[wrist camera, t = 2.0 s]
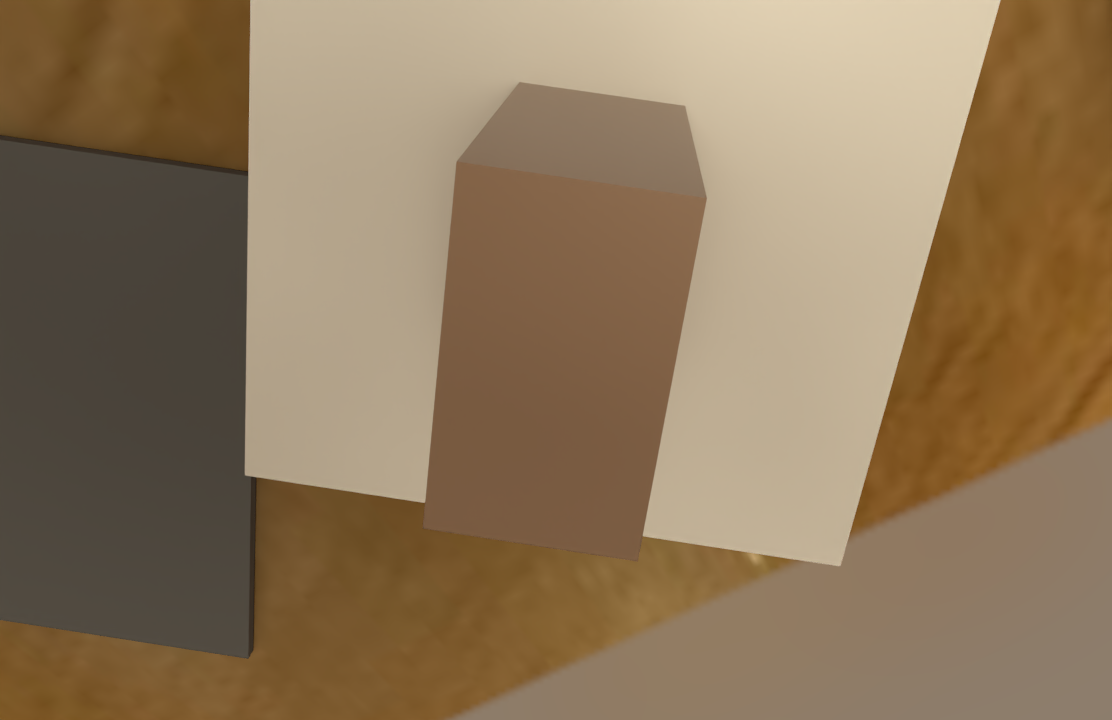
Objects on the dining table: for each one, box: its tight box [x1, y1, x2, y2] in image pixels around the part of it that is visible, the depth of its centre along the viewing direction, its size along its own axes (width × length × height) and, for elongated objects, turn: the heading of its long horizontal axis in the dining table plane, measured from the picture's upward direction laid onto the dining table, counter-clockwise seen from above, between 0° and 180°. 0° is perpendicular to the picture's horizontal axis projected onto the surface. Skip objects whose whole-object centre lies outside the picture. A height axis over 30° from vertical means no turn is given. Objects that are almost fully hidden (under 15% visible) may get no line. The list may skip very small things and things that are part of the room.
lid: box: [245, 0, 1000, 566], centre depth 20 cm, size 15×15×10 cm
